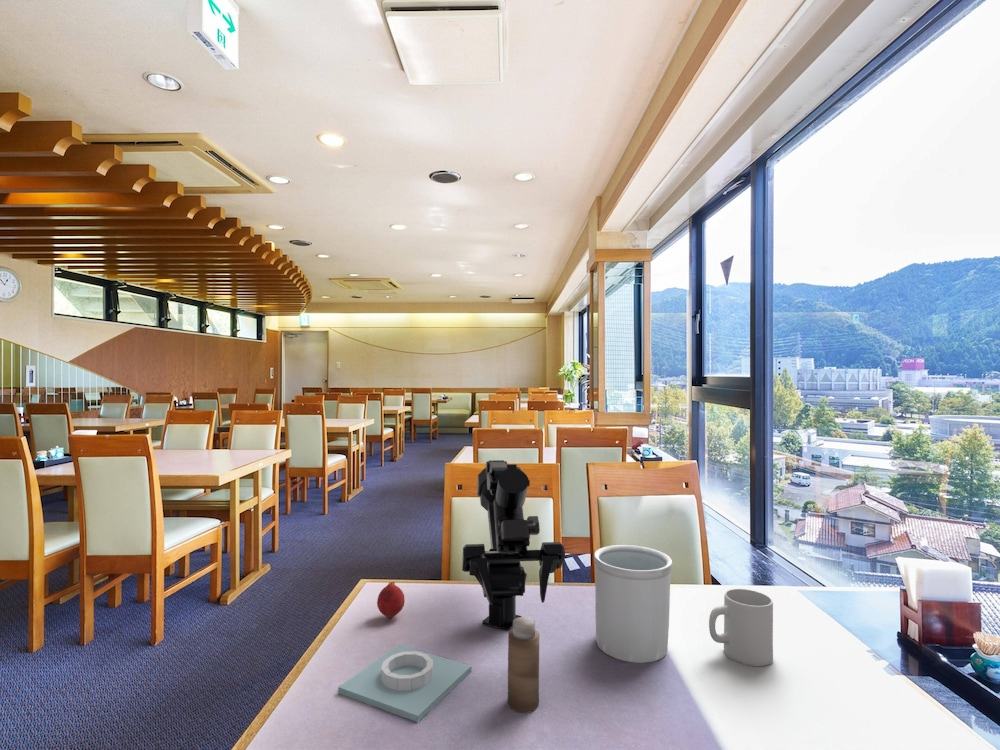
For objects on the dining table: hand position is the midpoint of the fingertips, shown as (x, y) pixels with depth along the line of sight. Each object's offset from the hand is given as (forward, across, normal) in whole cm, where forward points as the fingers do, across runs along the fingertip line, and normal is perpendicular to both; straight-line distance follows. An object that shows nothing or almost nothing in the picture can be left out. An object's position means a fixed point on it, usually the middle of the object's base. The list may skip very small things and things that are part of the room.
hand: (517, 602), depth 94 cm
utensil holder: (+3, +24, +16) cm, 29 cm away
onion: (-9, -24, +27) cm, 37 cm away
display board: (+9, -19, +10) cm, 23 cm away
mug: (+7, +43, +12) cm, 45 cm away
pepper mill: (+14, 0, +4) cm, 15 cm away
